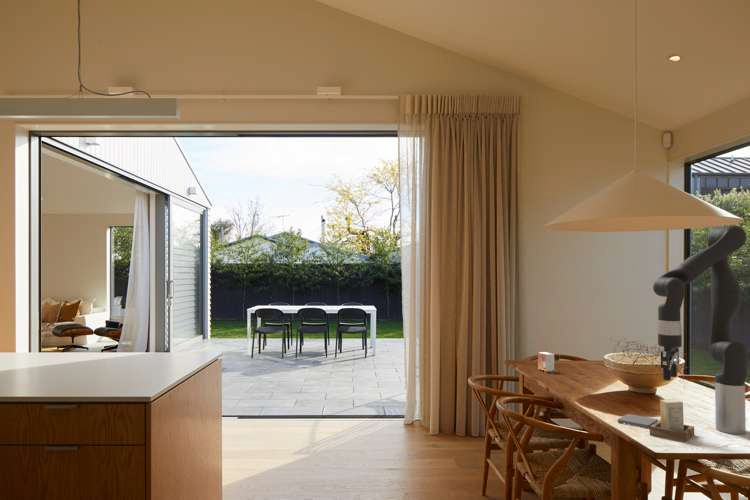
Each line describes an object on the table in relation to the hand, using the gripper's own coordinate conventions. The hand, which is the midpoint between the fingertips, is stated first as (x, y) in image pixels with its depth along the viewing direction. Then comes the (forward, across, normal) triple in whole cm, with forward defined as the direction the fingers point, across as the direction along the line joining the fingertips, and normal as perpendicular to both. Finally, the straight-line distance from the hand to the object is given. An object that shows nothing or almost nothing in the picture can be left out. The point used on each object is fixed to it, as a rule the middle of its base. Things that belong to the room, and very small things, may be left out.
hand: (670, 378), depth 192 cm
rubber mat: (+20, +8, +14) cm, 26 cm away
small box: (+20, +81, +85) cm, 119 cm away
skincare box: (+20, 0, 0) cm, 20 cm away
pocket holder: (+20, 0, 0) cm, 20 cm away
